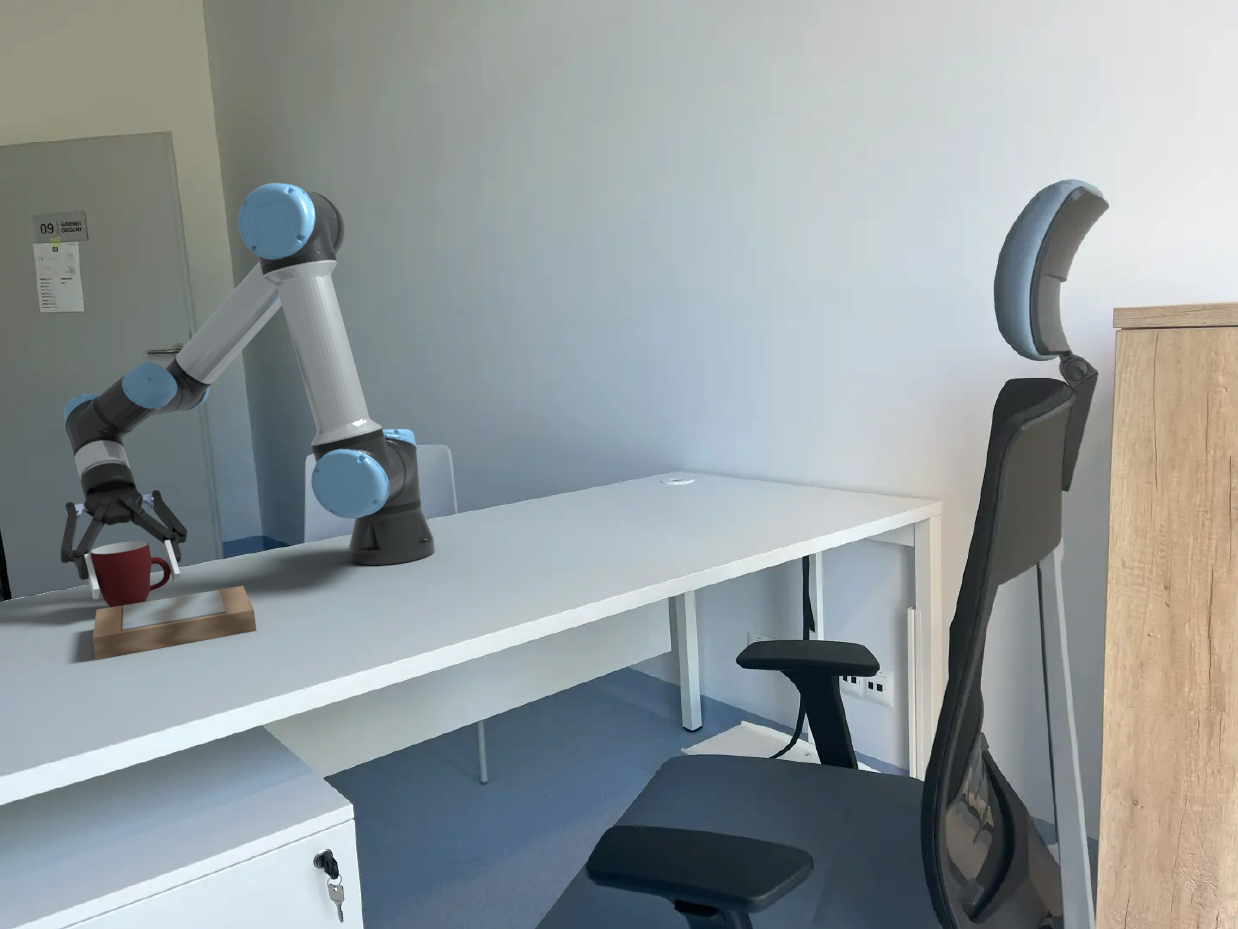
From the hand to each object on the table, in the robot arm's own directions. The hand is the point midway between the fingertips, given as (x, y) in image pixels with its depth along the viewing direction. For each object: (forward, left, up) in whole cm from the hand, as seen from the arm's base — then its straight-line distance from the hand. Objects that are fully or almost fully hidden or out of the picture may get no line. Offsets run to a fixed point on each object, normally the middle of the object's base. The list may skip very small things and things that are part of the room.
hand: (137, 586), depth 148 cm
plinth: (-4, +14, -4) cm, 15 cm away
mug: (+1, -3, -4) cm, 5 cm away
